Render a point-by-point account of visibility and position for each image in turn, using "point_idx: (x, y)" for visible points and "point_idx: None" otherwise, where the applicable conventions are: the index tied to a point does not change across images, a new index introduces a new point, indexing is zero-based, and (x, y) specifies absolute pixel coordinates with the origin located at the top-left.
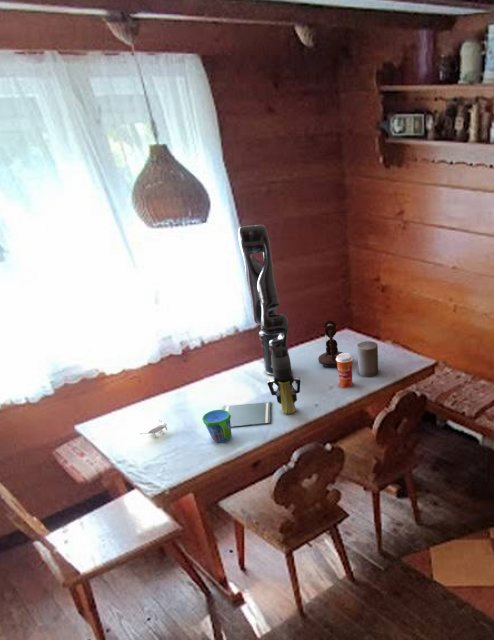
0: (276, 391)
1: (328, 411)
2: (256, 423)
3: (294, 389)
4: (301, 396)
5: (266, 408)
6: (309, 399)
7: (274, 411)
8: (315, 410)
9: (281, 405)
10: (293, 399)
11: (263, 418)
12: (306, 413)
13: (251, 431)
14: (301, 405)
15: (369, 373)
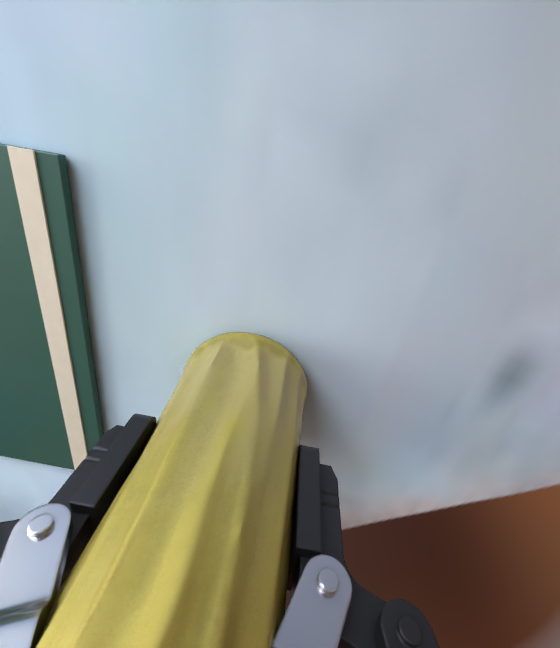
0: (7, 571)
1: (541, 485)
2: (17, 454)
3: (332, 638)
4: (463, 103)
5: (42, 287)
6: (515, 232)
7: (125, 340)
8: (457, 442)
9: (170, 399)
10: None
11: (51, 419)
12: (372, 452)
13: (13, 496)
14: (378, 327)
15: None
